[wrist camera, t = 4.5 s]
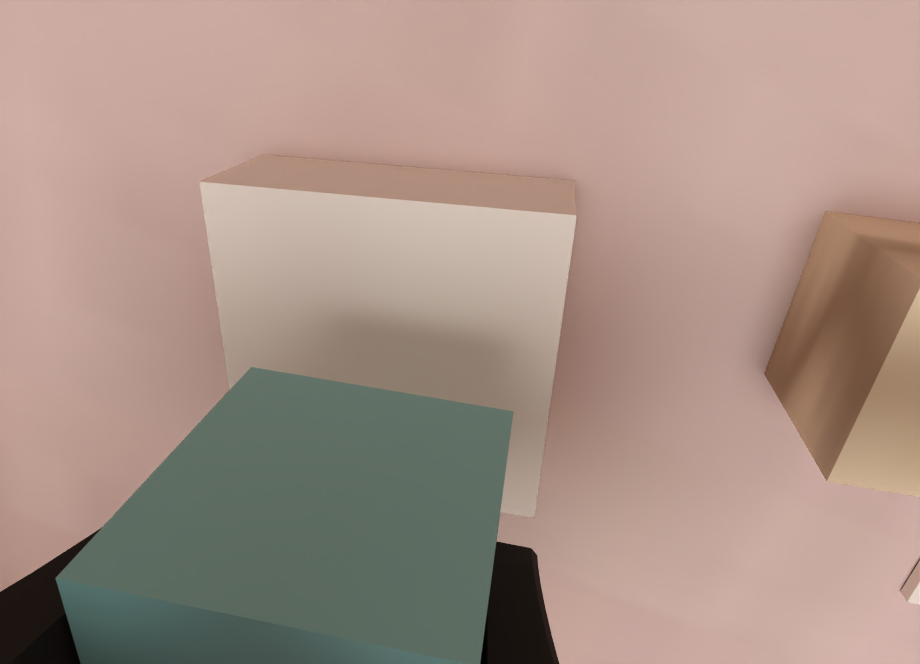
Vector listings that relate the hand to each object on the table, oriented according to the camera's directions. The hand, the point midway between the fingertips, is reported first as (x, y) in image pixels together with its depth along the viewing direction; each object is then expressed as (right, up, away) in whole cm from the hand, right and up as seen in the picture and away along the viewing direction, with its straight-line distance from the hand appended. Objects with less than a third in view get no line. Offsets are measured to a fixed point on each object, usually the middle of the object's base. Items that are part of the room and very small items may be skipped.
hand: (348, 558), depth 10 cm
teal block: (0, +1, +1) cm, 2 cm away
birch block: (+12, +4, +5) cm, 14 cm away
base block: (0, +4, +8) cm, 9 cm away
